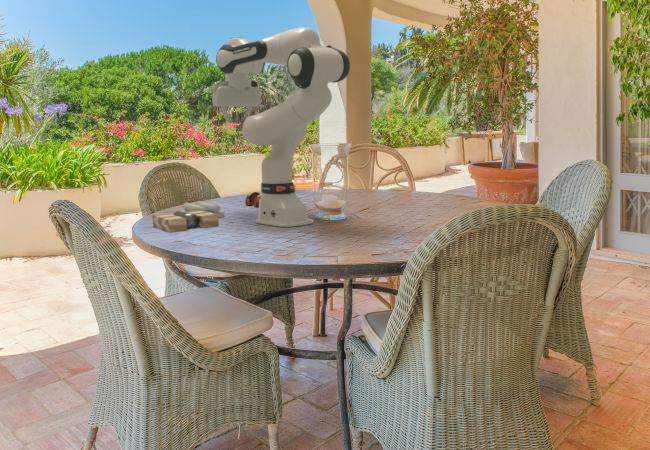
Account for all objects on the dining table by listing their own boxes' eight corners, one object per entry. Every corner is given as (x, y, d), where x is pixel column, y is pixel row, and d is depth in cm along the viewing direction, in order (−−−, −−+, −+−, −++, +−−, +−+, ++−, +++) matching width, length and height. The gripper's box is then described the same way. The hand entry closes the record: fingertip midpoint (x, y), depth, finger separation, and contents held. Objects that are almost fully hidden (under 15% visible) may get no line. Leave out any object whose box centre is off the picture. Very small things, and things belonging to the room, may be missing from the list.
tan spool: (218, 225, 202) (218, 214, 201) (170, 232, 191) (169, 220, 191) (199, 220, 215) (198, 210, 214) (153, 226, 204) (152, 215, 203)
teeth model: (257, 193, 243) (243, 191, 252) (257, 208, 244) (243, 206, 253) (273, 192, 248) (259, 191, 258) (274, 207, 249) (259, 204, 259)
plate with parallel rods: (224, 216, 222) (223, 204, 221) (196, 220, 215) (195, 207, 214) (206, 212, 234) (206, 200, 234) (179, 215, 227) (178, 203, 226)
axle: (199, 227, 200) (198, 213, 199) (186, 229, 197) (185, 215, 196) (185, 223, 209) (184, 210, 208) (172, 225, 206) (171, 211, 205)
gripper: (218, 81, 209) (218, 119, 213) (262, 83, 223) (262, 118, 226) (209, 81, 214) (209, 118, 217) (253, 82, 227) (252, 117, 231)
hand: (236, 118), depth 222 cm, fingers open, 8 cm apart
